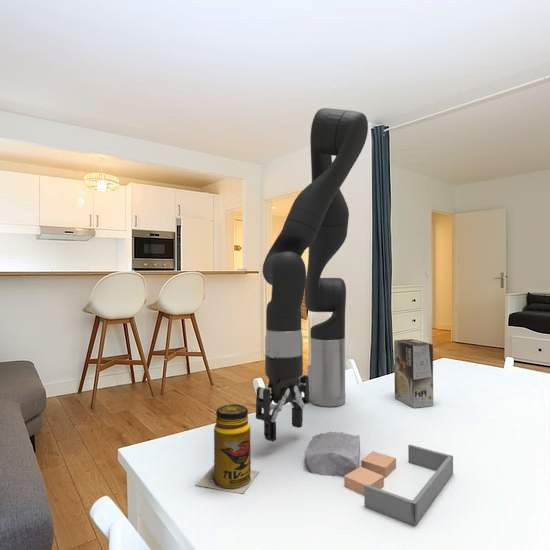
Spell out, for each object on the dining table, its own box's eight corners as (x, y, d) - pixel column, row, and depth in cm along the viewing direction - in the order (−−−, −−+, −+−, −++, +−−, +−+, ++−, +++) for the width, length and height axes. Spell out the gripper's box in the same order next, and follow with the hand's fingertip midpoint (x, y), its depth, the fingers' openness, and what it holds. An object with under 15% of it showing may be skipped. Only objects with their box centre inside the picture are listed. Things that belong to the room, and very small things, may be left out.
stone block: (305, 485, 68) (364, 479, 66) (300, 457, 68) (358, 450, 66) (313, 456, 80) (363, 450, 78) (308, 432, 80) (358, 426, 78)
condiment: (243, 494, 62) (242, 417, 62) (194, 486, 64) (194, 412, 64) (259, 472, 69) (258, 403, 69) (214, 465, 71) (214, 398, 71)
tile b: (361, 471, 70) (361, 460, 70) (372, 462, 73) (372, 451, 73) (385, 479, 67) (385, 467, 67) (396, 469, 70) (396, 458, 70)
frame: (364, 506, 58) (364, 485, 58) (409, 460, 73) (409, 444, 73) (415, 526, 54) (415, 504, 54) (453, 473, 68) (452, 455, 68)
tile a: (344, 488, 64) (344, 475, 64) (360, 478, 67) (360, 466, 67) (368, 499, 61) (368, 486, 61) (384, 488, 64) (383, 476, 64)
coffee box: (434, 406, 103) (434, 344, 103) (413, 408, 101) (413, 345, 101) (413, 395, 112) (412, 338, 112) (393, 397, 110) (392, 339, 110)
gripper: (290, 345, 87) (290, 418, 87) (245, 355, 76) (245, 439, 76) (319, 348, 82) (319, 427, 82) (275, 360, 71) (276, 450, 71)
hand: (284, 433), depth 79 cm, fingers open, 8 cm apart
